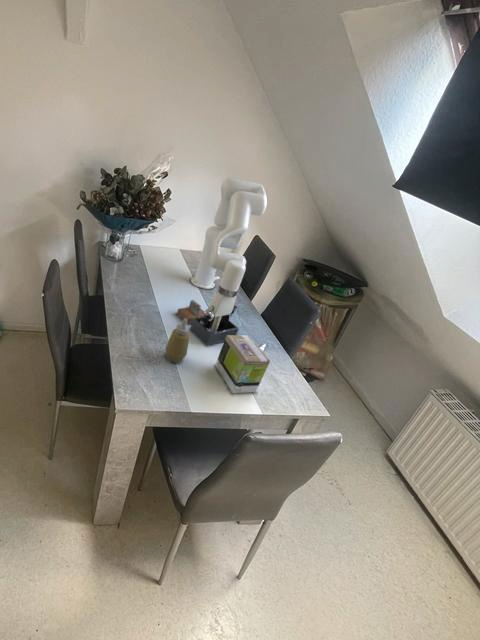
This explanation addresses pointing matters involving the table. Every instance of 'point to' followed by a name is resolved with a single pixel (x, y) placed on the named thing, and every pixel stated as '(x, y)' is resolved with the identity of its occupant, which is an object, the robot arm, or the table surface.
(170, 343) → the squeeze bottle
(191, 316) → the tap block
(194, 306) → the tap handle
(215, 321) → the marker
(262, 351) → the unicorn horn
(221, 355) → the tea box
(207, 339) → the sink basin
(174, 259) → the table surface
